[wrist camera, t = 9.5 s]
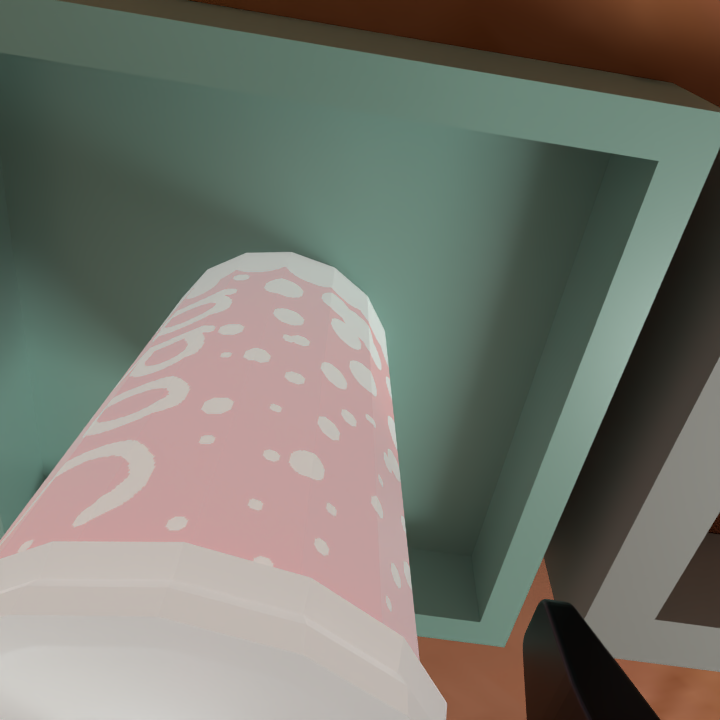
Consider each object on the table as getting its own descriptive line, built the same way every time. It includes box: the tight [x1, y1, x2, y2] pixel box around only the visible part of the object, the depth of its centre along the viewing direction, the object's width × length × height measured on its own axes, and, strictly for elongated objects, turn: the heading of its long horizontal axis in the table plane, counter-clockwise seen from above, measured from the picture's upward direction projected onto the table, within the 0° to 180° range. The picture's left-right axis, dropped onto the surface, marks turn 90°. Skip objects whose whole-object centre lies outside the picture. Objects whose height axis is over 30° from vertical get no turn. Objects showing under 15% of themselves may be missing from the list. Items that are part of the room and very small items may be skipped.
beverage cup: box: [0, 252, 447, 720], centre depth 9 cm, size 6×6×14 cm
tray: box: [0, 0, 720, 647], centre depth 14 cm, size 13×13×2 cm
